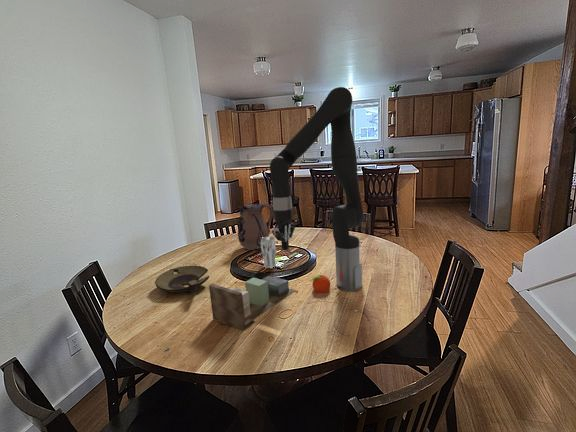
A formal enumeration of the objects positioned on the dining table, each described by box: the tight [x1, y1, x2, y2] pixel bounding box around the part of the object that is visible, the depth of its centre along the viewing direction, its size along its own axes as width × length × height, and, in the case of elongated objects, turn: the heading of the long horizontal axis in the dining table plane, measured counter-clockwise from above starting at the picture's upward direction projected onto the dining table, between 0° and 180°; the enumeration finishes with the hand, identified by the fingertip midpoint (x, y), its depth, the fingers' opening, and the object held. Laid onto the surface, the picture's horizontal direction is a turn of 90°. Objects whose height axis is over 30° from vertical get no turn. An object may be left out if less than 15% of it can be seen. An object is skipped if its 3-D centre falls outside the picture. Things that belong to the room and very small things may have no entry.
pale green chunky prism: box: [244, 277, 269, 306], centre depth 116 cm, size 7×4×8 cm, turn 54°
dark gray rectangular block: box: [261, 275, 290, 298], centre depth 124 cm, size 10×6×4 cm, turn 53°
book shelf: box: [208, 283, 297, 332], centre depth 116 cm, size 14×30×13 cm, turn 143°
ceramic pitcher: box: [237, 203, 274, 251], centre depth 182 cm, size 18×21×25 cm
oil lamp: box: [154, 265, 210, 293], centre depth 135 cm, size 22×30×8 cm
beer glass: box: [260, 236, 277, 269], centre depth 150 cm, size 7×7×15 cm
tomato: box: [310, 274, 331, 294], centre depth 123 cm, size 8×7×7 cm
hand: (285, 249), depth 128 cm, fingers closed
